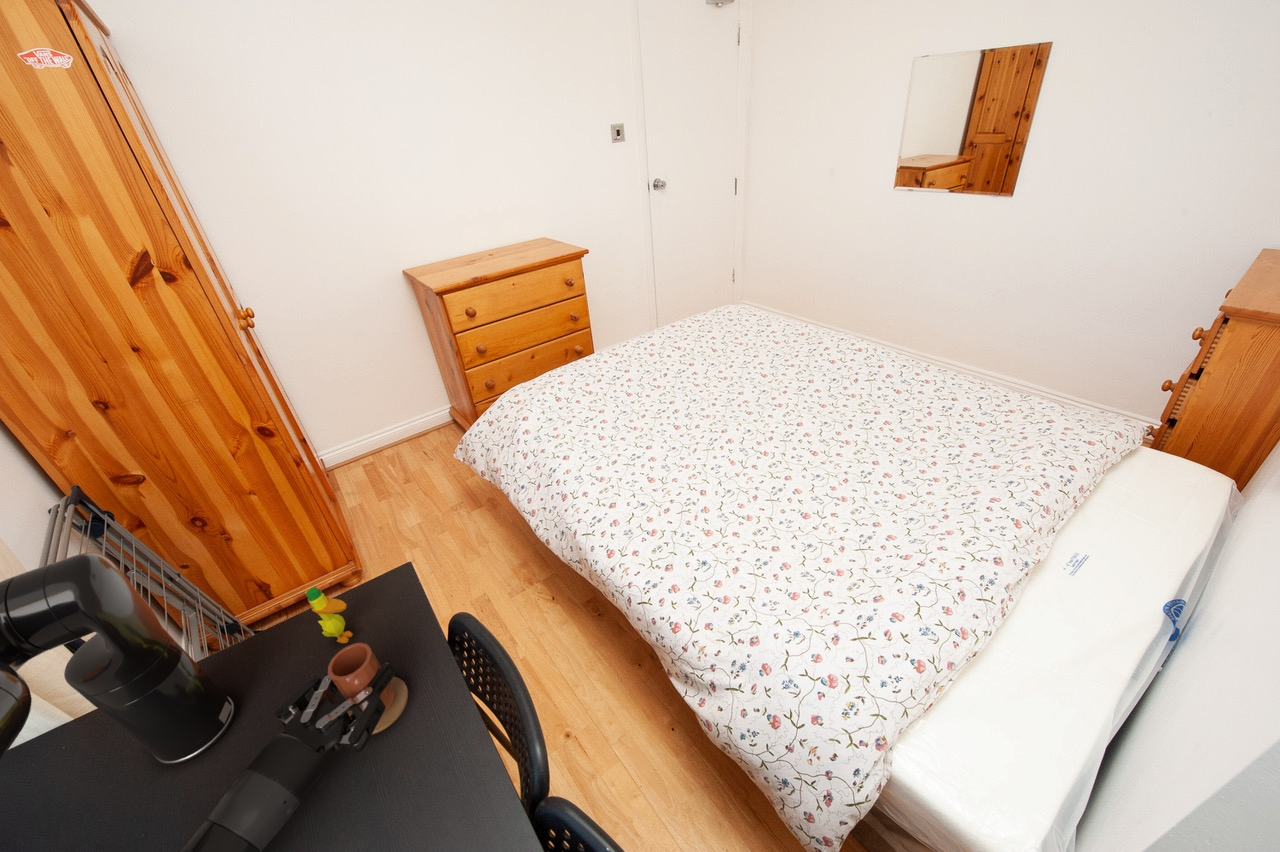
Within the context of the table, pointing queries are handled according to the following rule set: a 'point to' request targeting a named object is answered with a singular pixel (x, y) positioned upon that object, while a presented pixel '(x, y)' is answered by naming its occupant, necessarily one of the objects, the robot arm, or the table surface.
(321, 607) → the toy figure
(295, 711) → the robot arm
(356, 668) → the pot
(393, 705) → the trivet
